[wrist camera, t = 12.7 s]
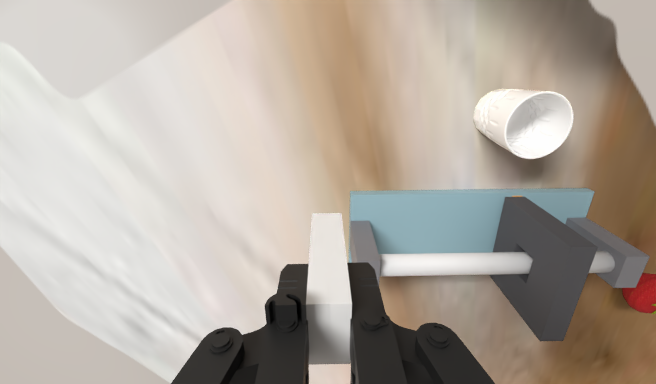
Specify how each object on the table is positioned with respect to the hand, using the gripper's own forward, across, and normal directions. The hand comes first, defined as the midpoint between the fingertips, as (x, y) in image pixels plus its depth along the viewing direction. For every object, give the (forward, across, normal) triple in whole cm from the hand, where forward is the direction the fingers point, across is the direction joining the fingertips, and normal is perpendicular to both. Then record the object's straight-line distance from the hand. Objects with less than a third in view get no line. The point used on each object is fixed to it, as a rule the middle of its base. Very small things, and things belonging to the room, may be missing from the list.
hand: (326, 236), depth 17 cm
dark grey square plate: (+29, +29, -18) cm, 45 cm away
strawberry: (+33, +54, -28) cm, 69 cm away
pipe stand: (+32, +23, -18) cm, 44 cm away
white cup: (+33, +25, +1) cm, 41 cm away
